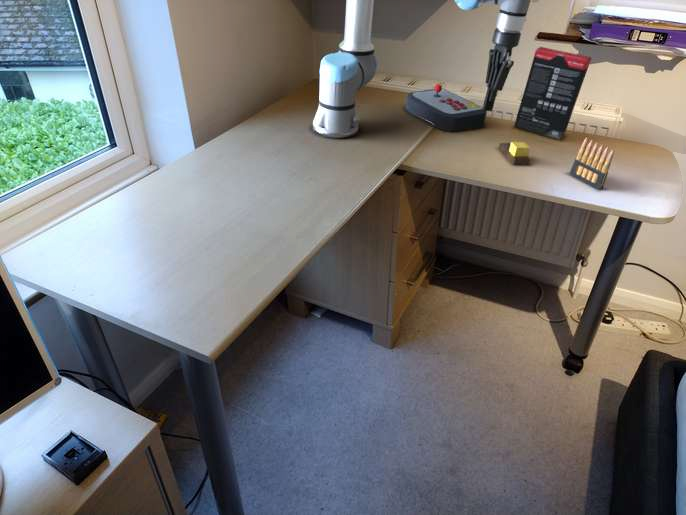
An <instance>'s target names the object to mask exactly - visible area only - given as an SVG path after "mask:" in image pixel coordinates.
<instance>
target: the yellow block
mask: <svg viewBox="0 0 686 515" xmlns="http://www.w3.org/2000/svg"><path fill="white" fill-rule="evenodd" d="M510 143H511V145H510V149H509V152H510V153H511V154H512V155H513V156H514V157H527V156H528V154H529V150H530V146H529V145H528V144H527V143H526V142H524V141H511V142H510Z"/></svg>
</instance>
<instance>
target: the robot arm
mask: <svg viewBox="0 0 686 515" xmlns="http://www.w3.org/2000/svg"><path fill="white" fill-rule="evenodd" d="M531 1H532V0H454V2H455V3H456V5H457V6H458V7H459V8H460V9H462V10H464V11H472V10H475V9H476V10H477V9H478V8H480V7H481V6H482V5H483V4H484V3H486V4H493V5H499V6H500V9H499V12H498V14H497V19H496V22H495V27H496V28H494V31H493V35H492V39H491V42H492V44H494V48H490V49H489V52H488V64H487V69H486V76H485V84H486V88H487V90H486V93H485V96H484V101H483V105H482V107H483V108H482V109H483V110H484V111H487V112H492V111H493V110H494V105H495V102H496V98H497V96H498V92H499V91H500V92H501V91H503V88H504V86H505V84H506V81H507V78H508V76H509V73H510V71H511V69H512V67H514V64H515V61H514V60H512V59H511V57H512V54H513V49H514V48H516V47H518V46H519V43H520V40H521V36H522V33H521V31H523V28H524V24H525V22H526V21H527V18H526V17H527V14H528V11H529V7H530V4H531ZM345 2H346V3H345V20H344V35H343V37H344V38H343V40H342V41H341V42H340V43H339V45H338V52H334V53H333V52H332V53H328V54H326V55H325V56H324V57H323V58H322V59H321V61H320V66H319V96H318V98H319V100H318V108H317V110H316V114H315V116H314V119H313V121H312V130H313V132H314V133H316V134H317V135H319V136H322V137H325V138H330V139H347V138H352V137H354V136H356V135H357V134H358V133H359V127H360V126H359V121H358V115H357V113H356V108H355V107H356V96H357V95H356V94H357V93H356V92H357V91H358V90H360V89H362V88H363V87H365V86H366V85H368V84H369V83H370V82H371V81H372V79H373V78H374V77H375V75H376V73H377V70H378V61H377V58H376V56H375V45H374V44H373V43H372V42H371V38H372V26H373V14H374V3H375V0H346V1H345Z"/></svg>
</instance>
